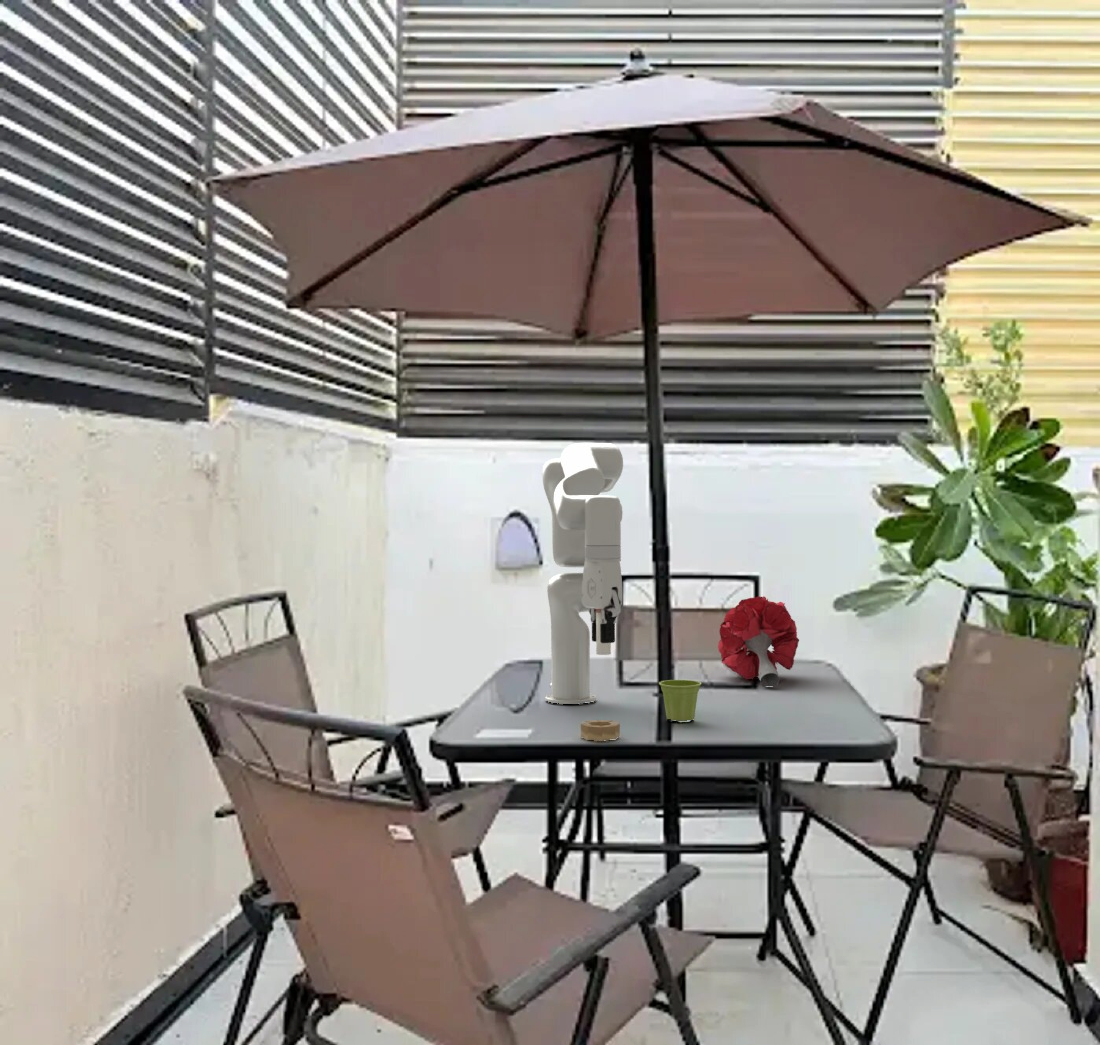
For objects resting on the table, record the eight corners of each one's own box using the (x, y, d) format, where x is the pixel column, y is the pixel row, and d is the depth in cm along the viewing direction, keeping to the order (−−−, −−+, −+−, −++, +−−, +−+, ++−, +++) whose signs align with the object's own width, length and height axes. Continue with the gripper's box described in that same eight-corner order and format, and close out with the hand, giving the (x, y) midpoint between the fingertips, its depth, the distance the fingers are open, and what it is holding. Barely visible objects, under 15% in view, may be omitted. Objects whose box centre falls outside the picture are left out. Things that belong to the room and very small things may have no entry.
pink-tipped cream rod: (593, 653, 252) (593, 606, 252) (606, 652, 253) (606, 605, 253) (600, 655, 249) (600, 607, 249) (613, 654, 250) (613, 606, 250)
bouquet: (811, 710, 319) (789, 643, 345) (814, 639, 307) (791, 575, 333) (730, 716, 320) (714, 648, 346) (730, 645, 308) (714, 581, 334)
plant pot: (668, 726, 262) (668, 686, 262) (653, 718, 271) (653, 680, 271) (708, 723, 265) (708, 684, 265) (691, 716, 274) (691, 678, 274)
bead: (576, 736, 251) (576, 722, 251) (607, 733, 254) (607, 719, 254) (592, 742, 244) (592, 728, 244) (624, 739, 247) (624, 725, 247)
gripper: (569, 553, 257) (569, 639, 257) (605, 555, 242) (606, 646, 242) (600, 553, 260) (600, 637, 260) (638, 554, 245) (638, 644, 245)
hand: (603, 641), depth 251 cm, fingers closed on pink-tipped cream rod, 3 cm apart
